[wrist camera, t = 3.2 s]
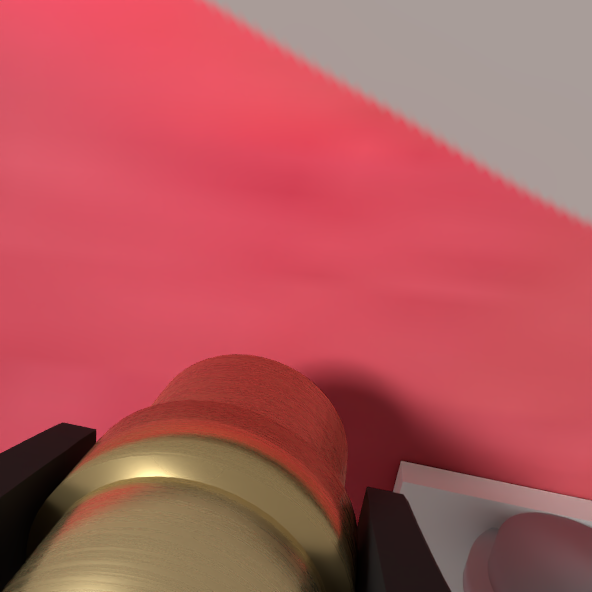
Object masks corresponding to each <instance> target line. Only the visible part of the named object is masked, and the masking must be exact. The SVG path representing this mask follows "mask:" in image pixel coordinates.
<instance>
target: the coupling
mask: <svg viewBox="0 0 592 592" xmlns="http://www.w3.org/2000/svg"><path fill="white" fill-rule="evenodd" d="M347 461H348V445H347V439H346V434H345V430H344V427H343V424H342V421H341V419H340V417H339V415H338V413H337V411H336V409H335V408H334V406H333V405H332V403H331V402H330V400H329V399H328V398H327V397H326V395H325V394H324V393H323V392H322V391H321V390H320V389H319V388H318V387H317V386H316V385H315V384H314V383H313V382H312V381H310V380H309V379H308V378H306V377H305V376H304V375H302V374H301V373H299V372H298V371H296V370H294V369H292V368H290V367H289V366H286V365H284V364H282V363H279V362H277V361H274V360H270V359H267V358H263V357H258V356H252V355H237V354H233V355H222V356H217V357H213V358H208V359H206V360H203V361H200V362H198V363H196V364H194V365H192V366H190V367H188V368H186V369H185V370H184V371H182V372H181V373H180V374H178V375H177V376H176V377H175V378H174V379H173V380H172V381H171V382H170V383H169V384H168V386H167V387H166V388H165V389H164V390H163V392H162V393H161V394H160V395H159V397H158V398H157V399H156V400H155V402H154V403H153V404H152V405H151V406H150V407H147V408H144V409H142V410H139V411H137V412H135V413H133V414H131V415H129V416H127V417H125V418H123V419H122V420H121V421H119V422H118V423H117V424H115V425H114V426H113V427H111V428H110V429H109V430H108V431H107V432H106V433H105V434H104V435H103V436H102V437H101V438H100V439H99V440H98V441H97V443H96V444H95V445H94V446H93V447H92V448H91V449H90V450H89V452H88V453H87V454H86V455H85V456H84V457H83V458H82V460H81V461H80V462H79V463H78V464H77V465H76V466H75V467H74V469H73V470H72V471H71V472H70V473H69V474H68V475H67V477H66V478H65V479H64V480H63V481H62V482H61V483H60V484H59V486H58V487H57V488H56V489H55V490H54V491H53V492H52V493H51V495H50V496H49V497H48V498H47V499H46V501H45V502H44V504H43V505H42V507H41V508H40V510H39V511H38V513H37V515H36V517H35V519H34V521H33V524H32V526H31V529H30V533H29V537H28V541H27V548H26V561H25V563H24V564H23V565H22V566H21V568H20V569H19V570H18V571H17V573H16V574H15V575H14V576H13V578H12V579H11V580H10V581H9V583H8V584H7V585H6V586H5V587H4V589H3V590H2V591H1V592H355V585H356V569H357V553H358V531H357V524H356V518H355V514H354V511H353V508H352V504H351V501H350V499H349V497H348V495H347V492H346V490H345V479H346V470H347Z"/></svg>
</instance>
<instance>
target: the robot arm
mask: <svg viewBox="0 0 592 592" xmlns="http://www.w3.org/2000/svg"><path fill="white" fill-rule="evenodd" d="M95 444H96V429H91V428H87V427H82V426H77V425H72V424H68V423H61V424H58V425H56V426H54V427H52V428H50V429H48V430H46V431H44V432H41V433H39V434H37V435H36V436H34V437H32V438H30V439H28V440H26V441H24V442H22V443H20V444H18V445H16V446H14V447H12V448H10V449H8V450H6V451H4V452H2V453H0V592H1V591H2V590H3V589H4V587H5V586H6V585H7V584H8V583H9V581H10V580H11V579H12V578H13V576H14V575H15V574H16V573H17V571H18V570H19V569H20V568H21V566H22V565H23V564H24V563H25V561H26V548H27V541H28V537H29V533H30V529H31V526H32V524H33V521H34V519H35V517H36V515H37V513H38V511H39V510H40V508H41V507H42V505H43V504H44V502H45V501H46V499H47V498H48V497H49V496H50V495H51V493H52V492H53V491H54V490H55V489H56V488H57V487H58V486H59V484H60V483H61V482H62V481H63V480H64V479H65V478H66V477H67V475H68V474H69V473H70V472H71V471H72V470H73V469H74V467H75V466H76V465H77V464H78V463H79V462H80V461H81V460H82V458H83V457H84V456H85V455H86V454H87V453H88V452H89V450H90V449H91V448H92V447H93V446H94V445H95ZM357 531H358V553H357V569H356V585H355V592H451V590H450V588H449V586H448V584H447V583H446V581H445V579H444V577H443V575H442V573H441V571H440V569H439V567H438V565H437V563H436V561H435V559H434V557H433V555H432V553H431V551H430V548H429V546H428V544H427V542H426V540H425V538H424V536H423V534H422V531H421V529H420V527H419V525H418V523H417V520H416V518H415V516H414V514H413V511H412V509H411V507H410V504H409V502H408V500H407V499H406V497H405V496H404V494H400V493H395V492H390V491H385V490H381V489H376V488H371V487H367V488H366V493H365V497H364V501H363V505H362V509H361V513H360V517H359V522H358V526H357Z"/></svg>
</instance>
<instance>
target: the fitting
mask: <svg viewBox="0 0 592 592" xmlns="http://www.w3.org/2000/svg"><path fill="white" fill-rule="evenodd" d="M393 492H395V493H400V494H404V496H405V497H406V499H407V500H408V502H409V504H410V507H411V509H412V511H413V514H414V516H415V518H416V520H417V523H418V525H419V527H420V529H421V531H422V534H423V536H424V538H425V540H426V542H427V544H428V546H429V548H430V551H431V553H432V555H433V557H434V559H435V561H436V563H437V565H438V567H439V569H440V571H441V573H442V575H443V577H444V579H445V581H446V583H447V584H448V586H449V588H450V590H451V592H592V501H591V500H586V499H581V498H577V497H572V496H567V495H562V494H557V493H553V492H548V491H543V490H538V489H534V488H529V487H524V486H519V485H514V484H510V483H505V482H500V481H495V480H491V479H486V478H481V477H476V476H472V475H467V474H462V473H457V472H452V471H448V470H443V469H438V468H433V467H429V466H424V465H419V464H414V463H409V462H405V461H401V463H400V467H399V470H398V474H397V478H396V482H395V486H394V489H393Z"/></svg>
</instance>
